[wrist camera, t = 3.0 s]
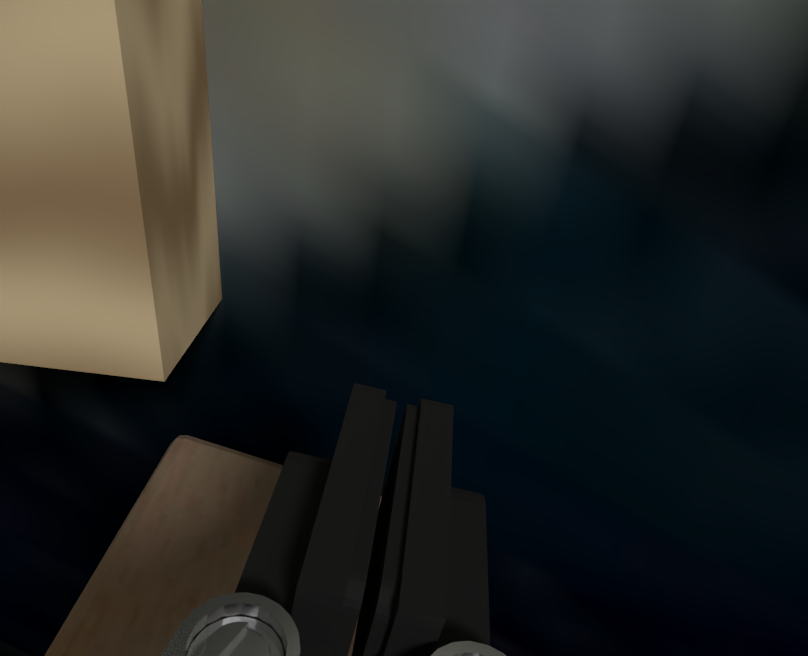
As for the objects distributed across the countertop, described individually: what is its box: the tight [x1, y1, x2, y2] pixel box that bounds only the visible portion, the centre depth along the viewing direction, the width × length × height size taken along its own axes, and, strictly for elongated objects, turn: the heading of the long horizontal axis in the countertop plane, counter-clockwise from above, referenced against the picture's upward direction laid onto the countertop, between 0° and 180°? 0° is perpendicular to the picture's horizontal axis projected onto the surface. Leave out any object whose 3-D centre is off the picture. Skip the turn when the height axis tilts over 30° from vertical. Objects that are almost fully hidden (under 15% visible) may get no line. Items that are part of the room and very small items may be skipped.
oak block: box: [0, 0, 222, 382], centre depth 17 cm, size 10×9×5 cm
